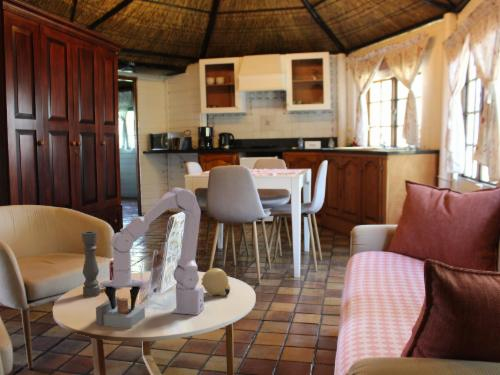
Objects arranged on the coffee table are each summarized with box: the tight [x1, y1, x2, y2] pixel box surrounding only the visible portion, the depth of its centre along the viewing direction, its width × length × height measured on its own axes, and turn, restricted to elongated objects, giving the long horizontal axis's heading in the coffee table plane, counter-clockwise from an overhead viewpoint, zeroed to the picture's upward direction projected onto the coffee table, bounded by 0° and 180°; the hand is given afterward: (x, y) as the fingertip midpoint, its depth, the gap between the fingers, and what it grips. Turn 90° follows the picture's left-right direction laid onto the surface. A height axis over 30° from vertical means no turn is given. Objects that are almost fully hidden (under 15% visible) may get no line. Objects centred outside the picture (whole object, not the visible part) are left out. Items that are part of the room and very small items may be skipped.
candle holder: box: [81, 230, 101, 298], centre depth 193 cm, size 6×6×25 cm
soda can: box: [108, 257, 121, 290], centre depth 203 cm, size 5×5×12 cm
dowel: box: [117, 297, 129, 314], centre depth 165 cm, size 4×4×7 cm
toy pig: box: [200, 267, 231, 297], centre depth 194 cm, size 10×12×11 cm
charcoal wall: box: [95, 296, 120, 327], centre depth 167 cm, size 2×12×6 cm, turn 167°
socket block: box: [103, 305, 146, 329], centre depth 165 cm, size 10×10×4 cm
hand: (123, 308), depth 164 cm, fingers open, 6 cm apart
